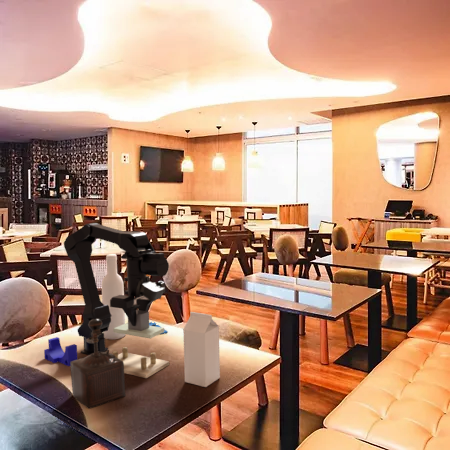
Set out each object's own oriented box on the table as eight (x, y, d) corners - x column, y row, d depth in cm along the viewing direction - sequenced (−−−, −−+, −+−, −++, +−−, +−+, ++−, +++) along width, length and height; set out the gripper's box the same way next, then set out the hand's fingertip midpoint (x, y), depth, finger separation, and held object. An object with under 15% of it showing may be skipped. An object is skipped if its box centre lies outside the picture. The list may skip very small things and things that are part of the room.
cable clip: (44, 359, 145) (43, 340, 144) (57, 355, 148) (57, 337, 148) (64, 368, 137) (63, 349, 136) (77, 364, 140) (76, 345, 140)
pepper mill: (128, 395, 118) (126, 327, 116) (88, 409, 111) (84, 337, 109) (101, 377, 129) (99, 315, 128) (63, 389, 122) (60, 324, 121)
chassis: (99, 367, 137) (98, 354, 137) (124, 354, 146) (123, 342, 146) (146, 378, 128) (145, 364, 128) (169, 364, 138) (168, 351, 137)
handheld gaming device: (153, 320, 181) (167, 330, 168) (154, 323, 181) (167, 333, 168) (133, 324, 177) (146, 334, 164) (133, 327, 177) (146, 337, 164)
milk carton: (205, 388, 121) (204, 318, 120) (184, 382, 125) (182, 314, 123) (220, 378, 127) (218, 312, 126) (199, 373, 131) (197, 308, 129)
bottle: (116, 340, 160) (112, 256, 158) (98, 338, 164) (95, 255, 161) (130, 334, 167) (127, 253, 165) (113, 331, 171) (109, 252, 168)
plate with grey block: (150, 338, 133) (149, 317, 132) (113, 332, 140) (112, 312, 139) (164, 331, 139) (163, 311, 139) (128, 325, 146) (127, 307, 145)
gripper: (138, 281, 126) (140, 336, 127) (175, 270, 142) (177, 318, 144) (107, 278, 131) (109, 331, 132) (147, 267, 147) (149, 314, 149)
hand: (138, 323), depth 139 cm, fingers closed on plate with grey block, 4 cm apart
